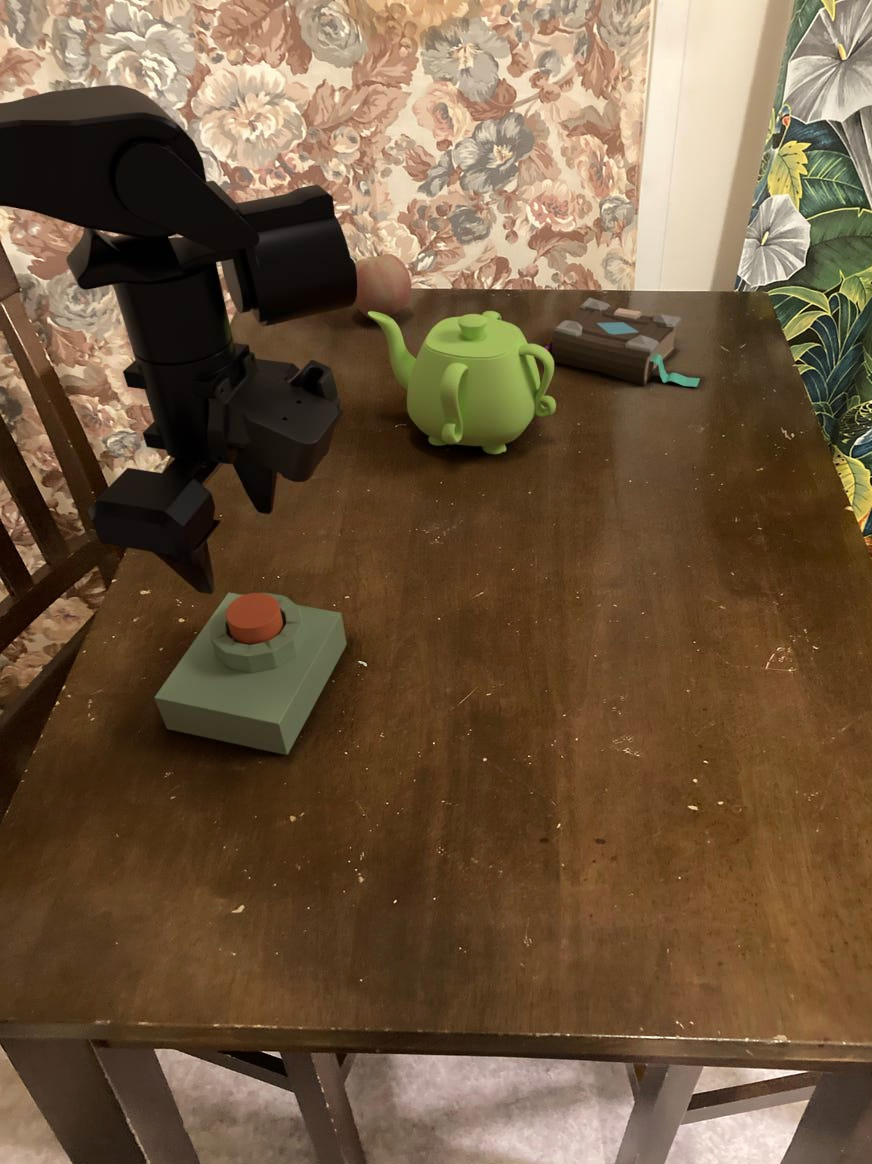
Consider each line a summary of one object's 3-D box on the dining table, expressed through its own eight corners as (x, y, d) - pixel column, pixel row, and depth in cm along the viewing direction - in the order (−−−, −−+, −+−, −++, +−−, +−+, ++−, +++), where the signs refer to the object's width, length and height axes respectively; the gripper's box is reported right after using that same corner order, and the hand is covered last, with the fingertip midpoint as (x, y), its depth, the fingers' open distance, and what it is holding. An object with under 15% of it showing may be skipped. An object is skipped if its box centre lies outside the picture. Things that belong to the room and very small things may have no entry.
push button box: (287, 756, 66) (274, 707, 62) (166, 729, 68) (146, 680, 64) (347, 645, 74) (338, 595, 70) (237, 624, 76) (223, 575, 72)
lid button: (269, 649, 67) (265, 632, 66) (221, 640, 68) (216, 623, 66) (291, 613, 70) (287, 597, 68) (244, 605, 70) (240, 588, 69)
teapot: (420, 483, 91) (412, 369, 82) (378, 415, 100) (366, 306, 91) (564, 448, 95) (570, 335, 86) (510, 385, 104) (511, 278, 95)
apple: (411, 302, 121) (406, 242, 115) (416, 328, 115) (411, 265, 110) (351, 307, 120) (344, 246, 114) (354, 332, 114) (346, 270, 109)
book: (723, 354, 109) (731, 314, 105) (687, 399, 101) (694, 358, 98) (575, 320, 116) (577, 282, 112) (532, 360, 109) (533, 320, 105)
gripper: (236, 444, 44) (288, 662, 55) (367, 289, 57) (388, 491, 68) (41, 416, 47) (128, 631, 57) (210, 272, 59) (255, 471, 70)
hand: (237, 550), depth 63 cm, fingers open, 9 cm apart
